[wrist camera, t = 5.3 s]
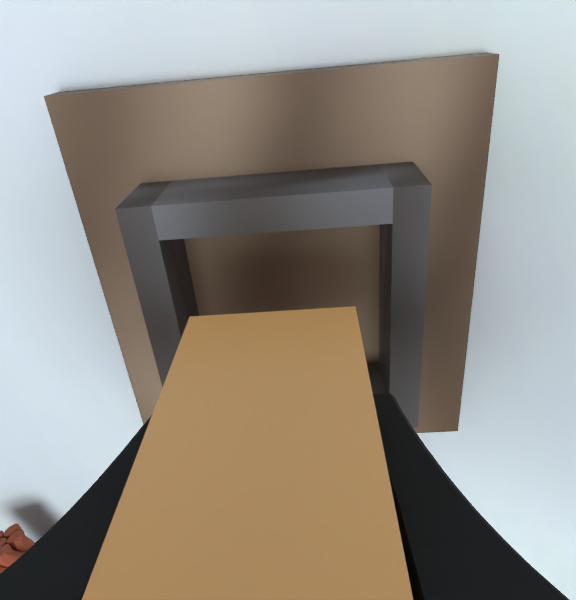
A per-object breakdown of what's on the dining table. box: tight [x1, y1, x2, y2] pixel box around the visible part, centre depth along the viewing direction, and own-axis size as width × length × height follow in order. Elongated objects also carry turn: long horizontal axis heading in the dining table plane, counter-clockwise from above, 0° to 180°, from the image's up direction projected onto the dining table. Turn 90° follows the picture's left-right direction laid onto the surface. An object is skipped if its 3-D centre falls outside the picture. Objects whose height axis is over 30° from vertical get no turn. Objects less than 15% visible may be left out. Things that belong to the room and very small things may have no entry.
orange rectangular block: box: [82, 306, 413, 600], centre depth 10 cm, size 4×4×7 cm
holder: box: [44, 53, 499, 433], centre depth 17 cm, size 13×14×4 cm
